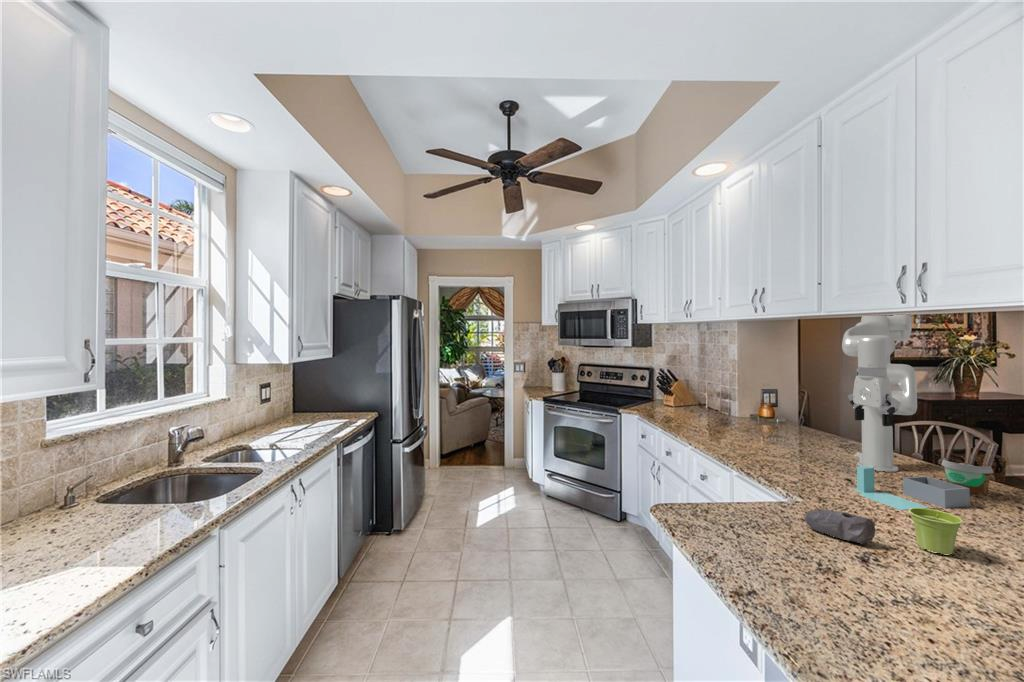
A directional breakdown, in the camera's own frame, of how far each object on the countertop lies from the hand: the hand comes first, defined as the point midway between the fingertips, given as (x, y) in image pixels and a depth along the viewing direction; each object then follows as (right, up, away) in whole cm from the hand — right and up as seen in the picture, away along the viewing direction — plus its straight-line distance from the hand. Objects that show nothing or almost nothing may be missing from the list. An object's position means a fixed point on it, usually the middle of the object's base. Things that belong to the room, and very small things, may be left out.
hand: (873, 422), depth 145 cm
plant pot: (-19, -24, -40) cm, 50 cm away
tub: (+12, -23, -9) cm, 28 cm away
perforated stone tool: (-37, -24, -33) cm, 55 cm away
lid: (-2, -23, -8) cm, 25 cm away
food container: (+29, -23, -2) cm, 37 cm away
